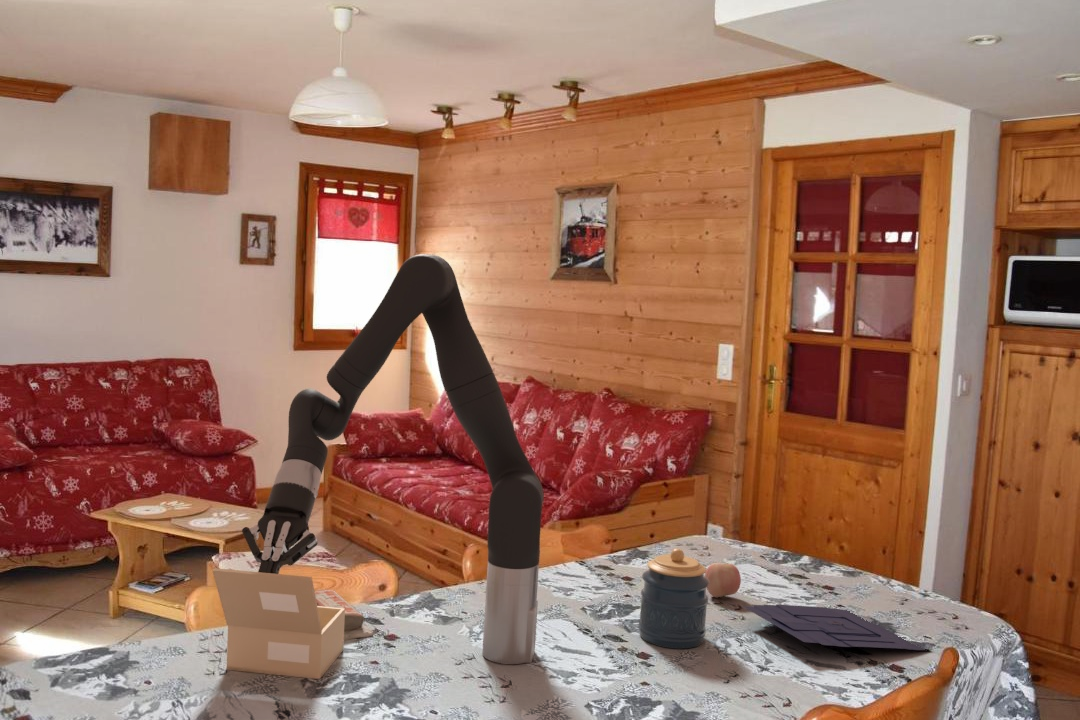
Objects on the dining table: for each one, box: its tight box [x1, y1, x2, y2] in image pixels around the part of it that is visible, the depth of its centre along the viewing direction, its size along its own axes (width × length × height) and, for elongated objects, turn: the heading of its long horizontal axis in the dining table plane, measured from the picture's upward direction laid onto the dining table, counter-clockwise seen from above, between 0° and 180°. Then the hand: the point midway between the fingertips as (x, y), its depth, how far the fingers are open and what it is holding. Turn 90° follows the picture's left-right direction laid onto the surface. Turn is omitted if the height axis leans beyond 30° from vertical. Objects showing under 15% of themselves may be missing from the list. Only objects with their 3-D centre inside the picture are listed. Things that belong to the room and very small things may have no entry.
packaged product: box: [314, 588, 375, 641], centre depth 187 cm, size 18×5×10 cm
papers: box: [741, 603, 926, 651], centre depth 197 cm, size 24×30×4 cm
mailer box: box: [225, 606, 345, 680], centre depth 168 cm, size 16×13×8 cm
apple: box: [704, 562, 742, 599], centre depth 217 cm, size 8×8×8 cm
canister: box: [638, 548, 709, 650], centre depth 190 cm, size 13×13×18 cm
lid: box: [211, 567, 322, 634], centre depth 158 cm, size 16×13×1 cm
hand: (264, 585), depth 156 cm, fingers closed
